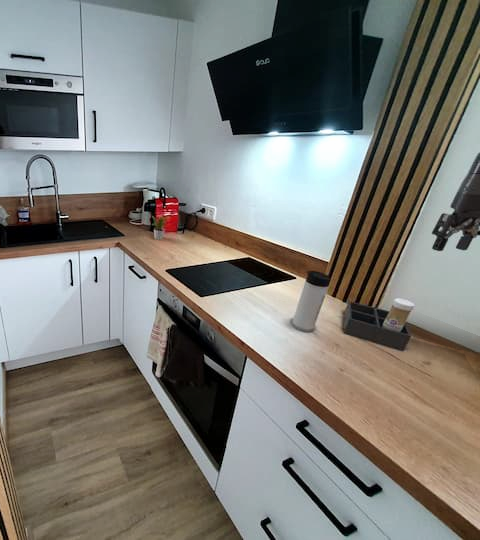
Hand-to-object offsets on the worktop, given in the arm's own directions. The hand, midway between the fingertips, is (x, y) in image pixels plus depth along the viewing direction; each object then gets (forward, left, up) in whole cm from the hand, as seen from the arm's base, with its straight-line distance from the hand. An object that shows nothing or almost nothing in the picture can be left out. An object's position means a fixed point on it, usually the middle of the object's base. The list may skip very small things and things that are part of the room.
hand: (448, 249), depth 82 cm
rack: (+9, +4, -30) cm, 31 cm away
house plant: (+113, -40, -30) cm, 124 cm away
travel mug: (+28, +16, -30) cm, 44 cm away
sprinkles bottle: (+5, +8, -29) cm, 31 cm away
